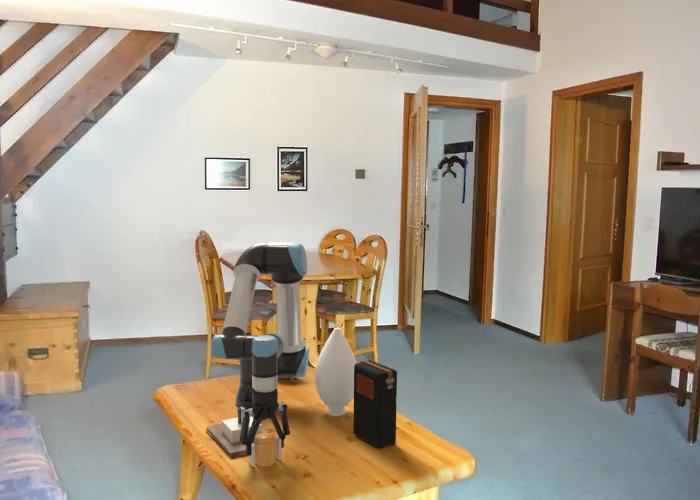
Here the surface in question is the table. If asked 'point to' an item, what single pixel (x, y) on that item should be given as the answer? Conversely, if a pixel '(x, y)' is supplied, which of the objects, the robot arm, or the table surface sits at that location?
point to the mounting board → (228, 441)
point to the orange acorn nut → (265, 449)
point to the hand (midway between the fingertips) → (265, 461)
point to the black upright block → (375, 403)
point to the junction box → (236, 427)
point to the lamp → (335, 373)
